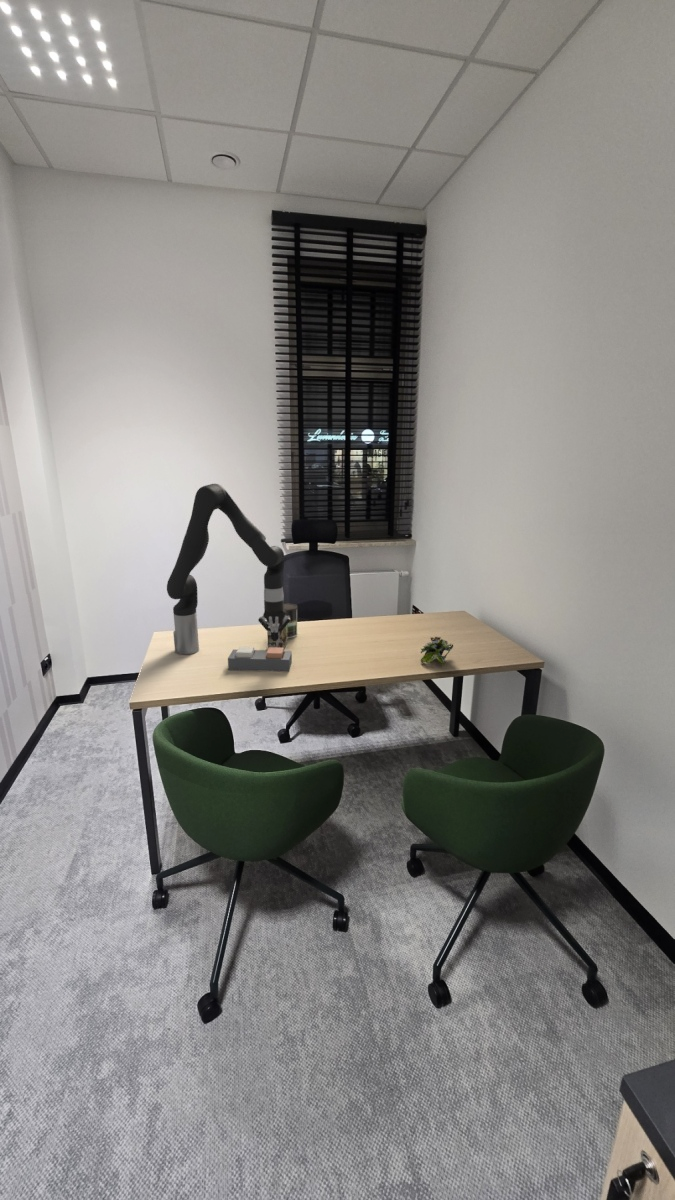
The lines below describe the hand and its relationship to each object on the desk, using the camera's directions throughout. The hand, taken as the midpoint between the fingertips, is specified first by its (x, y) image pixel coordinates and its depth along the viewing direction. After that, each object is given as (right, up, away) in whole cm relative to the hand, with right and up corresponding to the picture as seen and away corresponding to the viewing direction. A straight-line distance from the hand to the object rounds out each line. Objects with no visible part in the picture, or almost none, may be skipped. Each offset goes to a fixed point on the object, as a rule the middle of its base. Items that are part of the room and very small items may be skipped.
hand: (275, 640), depth 190 cm
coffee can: (+1, -1, +38) cm, 38 cm away
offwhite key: (-12, -7, +2) cm, 14 cm away
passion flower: (+66, -10, +10) cm, 67 cm away
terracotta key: (0, -7, +2) cm, 7 cm away
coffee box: (-2, -5, +23) cm, 23 cm away
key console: (-6, -11, +4) cm, 13 cm away
